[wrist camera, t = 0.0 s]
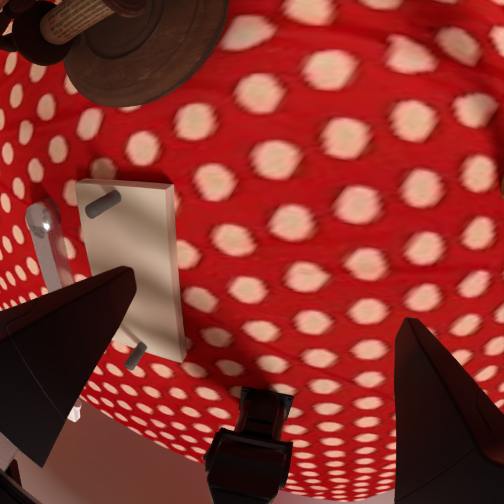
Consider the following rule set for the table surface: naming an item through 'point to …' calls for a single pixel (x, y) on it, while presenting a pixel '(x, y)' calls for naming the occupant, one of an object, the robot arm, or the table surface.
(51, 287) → the grey baby rattle
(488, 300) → the table surface
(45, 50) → the dark brown upright piece
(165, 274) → the peg rack
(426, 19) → the table surface
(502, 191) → the kendama
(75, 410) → the plane toy
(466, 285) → the table surface
